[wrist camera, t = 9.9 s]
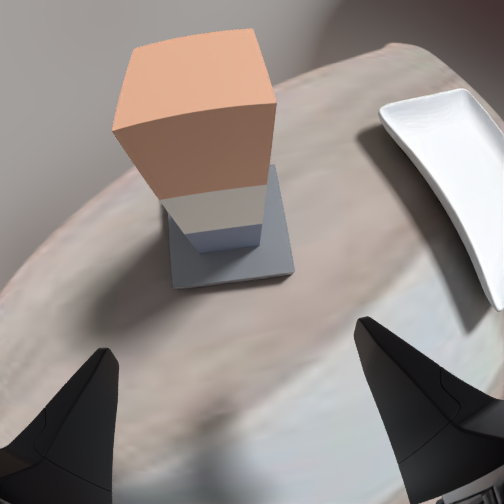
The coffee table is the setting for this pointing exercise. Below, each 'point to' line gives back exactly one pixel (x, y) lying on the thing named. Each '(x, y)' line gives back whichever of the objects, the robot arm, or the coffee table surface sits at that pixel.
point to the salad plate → (459, 172)
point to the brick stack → (202, 133)
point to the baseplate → (236, 251)
